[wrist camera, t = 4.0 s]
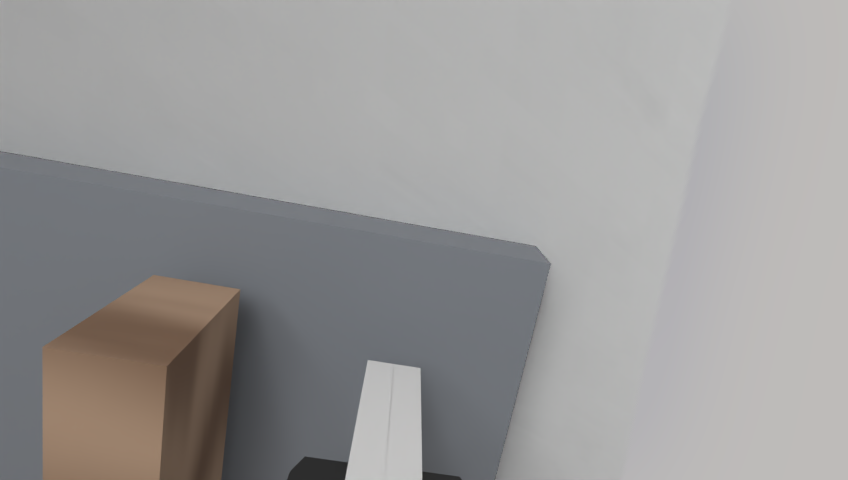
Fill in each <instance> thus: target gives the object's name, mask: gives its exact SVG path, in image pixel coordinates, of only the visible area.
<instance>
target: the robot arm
mask: <svg viewBox="0 0 848 480" xmlns="http://www.w3.org/2000/svg"><path fill="white" fill-rule="evenodd" d="M287 480H462V479H461V478H460V477H459V476H452V475H444V474H437V473H430V472H423V471H422V429H421V368H417V367H410V366H404V365H397V364H391V363H384V362H378V361H371V360H368V361H367V367H366V372H365V377H364V382H363V388H362V393H361V398H360V403H359V409H358V414H357V419H356V425H355V430H354V435H353V440H352V446H351V451H350V456H349V461H348V462H341V461H334V460H327V459H320V458H313V457H306V456H305V457H304V458H303V459H302V460H301V461H300V462H299V463H298V464H297V465H296V466H295V467H294V468H293V469H292V470H291V471H290V473H289V475H288V478H287Z"/></svg>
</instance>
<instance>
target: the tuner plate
mask: <svg viewBox="0 0 848 480" xmlns="http://www.w3.org/2000/svg"><path fill="white" fill-rule="evenodd" d="M550 265H551V263H550V262H549V261H548V260H547V259H546V258H545V256H544V255H543V254H542V253H541V252H540V250H539V249H538V248H537V247H536V246H532V245H526V244H520V243H515V242H509V241H503V240H498V239H492V238H486V237H481V236H475V235H470V234H464V233H458V232H453V231H447V230H441V229H436V228H430V227H424V226H419V225H413V224H407V223H402V222H396V221H390V220H385V219H379V218H374V217H368V216H362V215H357V214H351V213H345V212H340V211H334V210H328V209H323V208H317V207H311V206H306V205H300V204H294V203H289V202H283V201H278V200H272V199H266V198H261V197H255V196H249V195H244V194H238V193H232V192H227V191H221V190H215V189H210V188H204V187H198V186H193V185H187V184H182V183H176V182H170V181H165V180H159V179H153V178H148V177H142V176H136V175H131V174H125V173H119V172H114V171H108V170H102V169H97V168H91V167H86V166H80V165H74V164H69V163H63V162H57V161H52V160H46V159H40V158H35V157H29V156H23V155H18V154H12V153H6V152H1V151H0V480H43V364H42V347H43V346H45V345H46V344H48V343H49V342H51V341H52V340H54V339H56V338H57V337H59V336H60V335H62V334H63V333H65V332H66V331H68V330H69V329H71V328H73V327H74V326H76V325H77V324H79V323H80V322H82V321H83V320H85V319H86V318H88V317H90V316H91V315H93V314H94V313H96V312H97V311H99V310H100V309H102V308H103V307H105V306H107V305H108V304H110V303H111V302H113V301H114V300H116V299H117V298H119V297H120V296H122V295H124V294H125V293H127V292H128V291H130V290H131V289H133V288H134V287H136V286H137V285H139V284H141V283H142V282H144V281H145V280H147V279H148V278H150V277H151V276H153V275H157V276H163V277H169V278H175V279H181V280H188V281H194V282H200V283H206V284H212V285H218V286H224V287H230V288H236V289H240V299H239V308H238V318H237V328H236V338H235V348H234V358H233V368H232V378H231V388H230V398H229V408H228V418H227V427H226V437H225V447H224V457H223V467H222V477H221V480H287V478H288V475H289V473H290V471H291V470H292V469H293V468H294V467H295V466H296V465H297V464H298V463H299V462H300V461H301V460H302V459H303V458H304V457H305V456H306V457H313V458H320V459H327V460H334V461H341V462H348V461H349V456H350V451H351V446H352V440H353V435H354V430H355V425H356V419H357V414H358V409H359V403H360V398H361V393H362V388H363V382H364V377H365V372H366V367H367V361H368V360H371V361H378V362H384V363H391V364H397V365H404V366H410V367H417V368H421V429H422V471H423V472H430V473H437V474H444V475H452V476H459V477H460V478H461V479H462V480H495V478H496V474H497V470H498V466H499V462H500V458H501V454H502V451H503V447H504V443H505V439H506V435H507V431H508V427H509V423H510V420H511V416H512V412H513V408H514V404H515V400H516V396H517V393H518V389H519V385H520V381H521V377H522V373H523V369H524V365H525V362H526V358H527V354H528V350H529V346H530V342H531V338H532V335H533V331H534V327H535V323H536V319H537V315H538V311H539V308H540V304H541V300H542V296H543V292H544V288H545V284H546V280H547V277H548V273H549V269H550Z"/></svg>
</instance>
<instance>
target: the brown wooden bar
mask: <svg viewBox="0 0 848 480" xmlns="http://www.w3.org/2000/svg"><path fill="white" fill-rule="evenodd" d="M239 299H240V289H236V288H230V287H224V286H218V285H212V284H206V283H200V282H194V281H188V280H181V279H175V278H169V277H163V276H157V275H153V276H151V277H150V278H148V279H147V280H145V281H144V282H142V283H141V284H139V285H137V286H136V287H134V288H133V289H131V290H130V291H128V292H127V293H125V294H124V295H122V296H120V297H119V298H117V299H116V300H114V301H113V302H111V303H110V304H108V305H107V306H105V307H103V308H102V309H100V310H99V311H97V312H96V313H94V314H93V315H91V316H90V317H88V318H86V319H85V320H83V321H82V322H80V323H79V324H77V325H76V326H74V327H73V328H71V329H69V330H68V331H66V332H65V333H63V334H62V335H60V336H59V337H57V338H56V339H54V340H52V341H51V342H49V343H48V344H46V345H45V346H43V347H42V364H43V480H221V477H222V467H223V457H224V447H225V437H226V427H227V418H228V408H229V398H230V388H231V378H232V368H233V358H234V348H235V338H236V328H237V318H238V308H239Z"/></svg>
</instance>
